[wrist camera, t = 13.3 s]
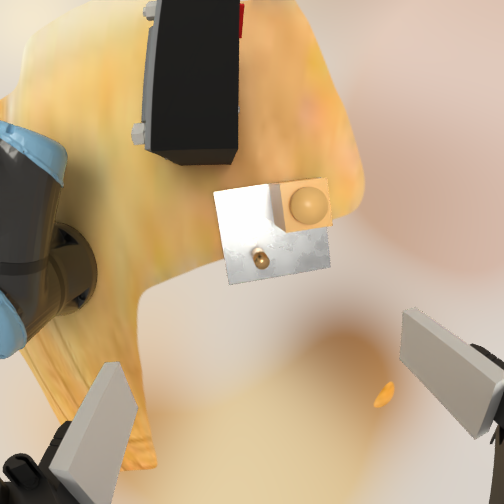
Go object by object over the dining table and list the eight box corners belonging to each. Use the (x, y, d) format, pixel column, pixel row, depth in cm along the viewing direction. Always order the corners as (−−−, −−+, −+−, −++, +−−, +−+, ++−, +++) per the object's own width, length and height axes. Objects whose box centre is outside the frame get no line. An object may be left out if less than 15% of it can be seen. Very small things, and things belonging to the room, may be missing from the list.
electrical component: (170, 57, 40) (142, -12, 20) (236, 55, 41) (247, -17, 21) (166, 166, 44) (126, 153, 24) (235, 164, 45) (246, 148, 25)
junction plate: (228, 283, 48) (229, 285, 47) (213, 192, 45) (213, 192, 44) (328, 266, 49) (330, 267, 48) (319, 177, 46) (321, 177, 45)
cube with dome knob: (274, 224, 46) (288, 234, 36) (268, 183, 45) (281, 183, 35) (313, 218, 46) (336, 227, 37) (308, 178, 45) (331, 177, 35)
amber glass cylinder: (252, 261, 47) (255, 270, 42) (250, 248, 46) (253, 256, 42) (265, 259, 47) (270, 268, 42) (263, 246, 47) (268, 253, 42)
